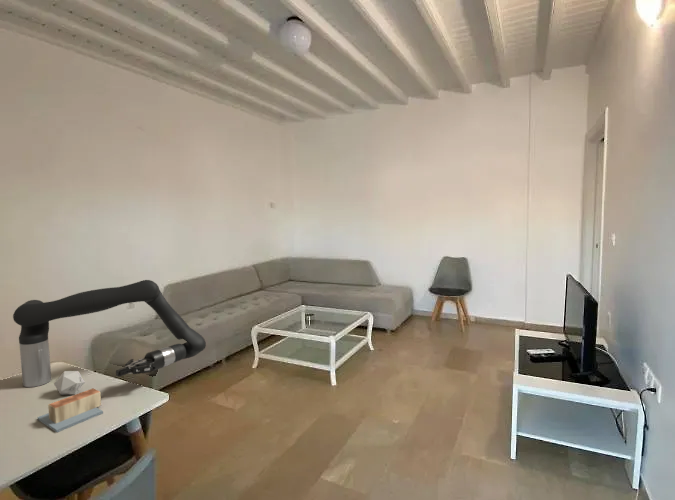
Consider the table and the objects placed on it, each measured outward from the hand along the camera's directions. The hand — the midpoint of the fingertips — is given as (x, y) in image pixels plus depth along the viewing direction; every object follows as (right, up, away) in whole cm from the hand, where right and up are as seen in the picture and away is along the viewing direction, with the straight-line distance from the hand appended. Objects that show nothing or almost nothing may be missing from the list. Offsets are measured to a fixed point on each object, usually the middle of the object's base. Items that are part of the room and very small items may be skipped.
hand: (117, 373), depth 146 cm
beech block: (-4, -7, -5) cm, 9 cm away
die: (-20, -9, +5) cm, 23 cm away
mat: (-9, -11, -12) cm, 18 cm away
